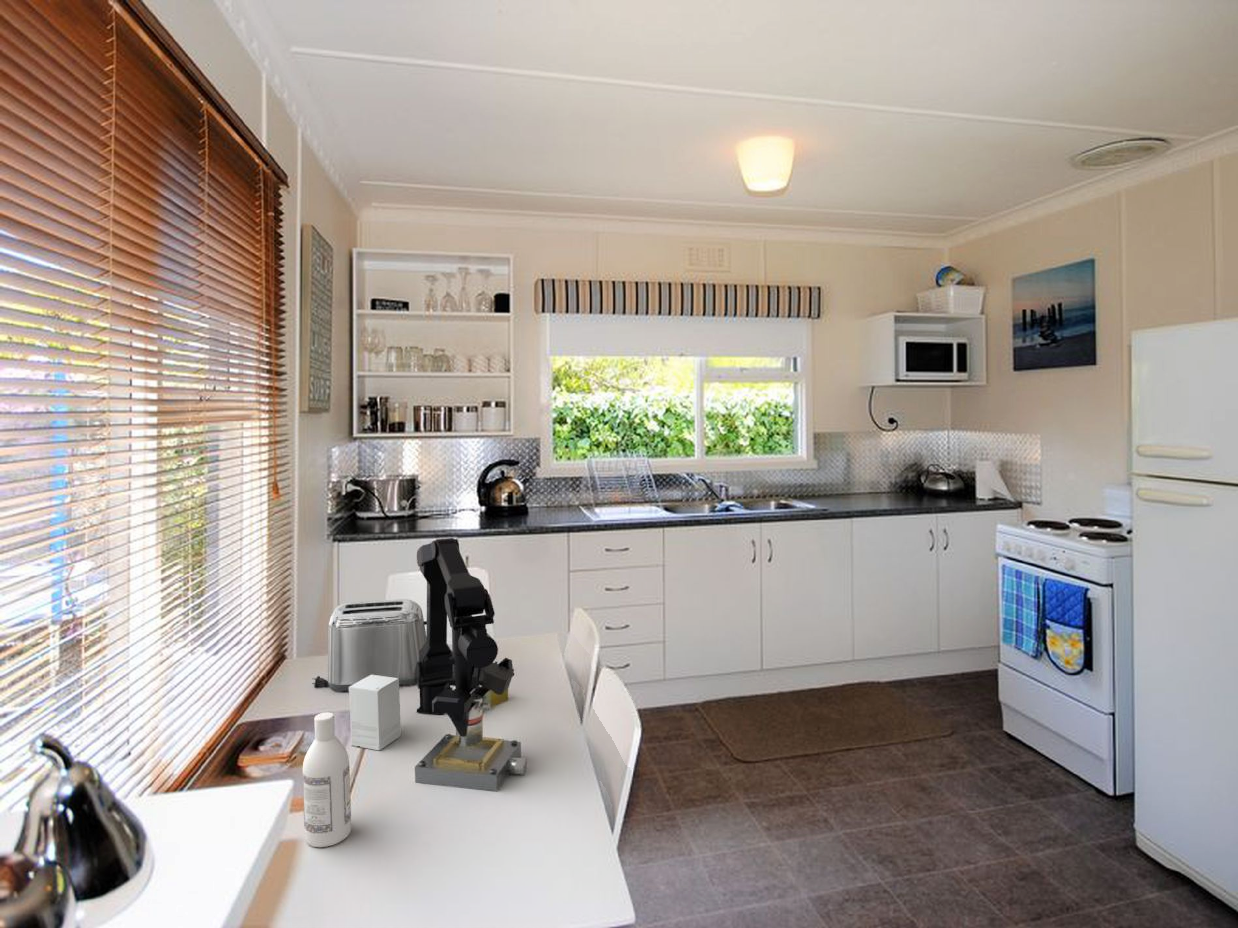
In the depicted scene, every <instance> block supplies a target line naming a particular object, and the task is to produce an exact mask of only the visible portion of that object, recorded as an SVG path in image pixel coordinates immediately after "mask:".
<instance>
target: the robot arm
mask: <svg viewBox="0 0 1238 928" xmlns="http://www.w3.org/2000/svg"><path fill="white" fill-rule="evenodd" d="M416 563H417V566H418V568H419V570H420V572H421V574H422V576H423V577H424V579H425V580H426V621H427V625H426V637H427V640H426V642H425V644H424V645H423V647H422V648H421V650H420V651H419V662H417V663H416V667H415V671H414V679H415V683H416V684H415V686H416V687H417V689H418V690H419V707H418V708H417V709H416V713H419V714H420V713H421V714H430V715H431V714H432V715H444V714H446V715H447V716H448V718H449V719H450V720H451V722H452V724H453V726H454V727H455V730H456V729H457V731H458V733H459V735H460V736H461V737H465V736H466V735H467V729H468V720H469V711H470V710H471V709H472V708H473V707H474V706H475V705H476V703H472V694H477V695H480V696H481V697H482V702H483V701H484V697H485V694H486V693H487V692H488V691H489V690H491V691H493V692H494V693H495V694H498V695H502V694H503V693H504V692H505V690H506V689H508V690H509V687H510V684H511V681H512V680H513V677H514V676H515V672H514V671H515V669H514V667H513V660H512V659H510V658H508V657H504V658H503V659H502V661H500V662H499V663H498V661H496V658H497V657H498V653H499V647H498V644H497V642H496V640H495V639H494V638H493V637H492V635H490V634H489V633H488V629H487V625H493V624H494V622H495V621H494V616H495V614H496V613H495V610H494V606H493V602H492V599H491V595H490V593H489V592H488V590H487V589H486V588H485V586H484V584H483V582H482V580H481V579H480V578H478V577H476V576H473V575H471V574H470V572H469V570H468V567H467V565H466V563H465V561H464V559H463V556H462V554H461V551H460V544H459V540H458V539H457V538H453V537H450V538H449V537H447V538H437V539H435V540H432V541H431V542H430V543H427V544H422V545H421V546H420V547H419V548H417V551H416ZM484 613H485V614H484ZM448 622H449V626H450V628H451V644H452V645H451V648H450V645H449V644H448V643H447V642H448ZM421 677H422V678H421ZM453 686H454V689H453V688H452V687H453Z"/></svg>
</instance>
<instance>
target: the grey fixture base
mask: <svg viewBox="0 0 1238 928" xmlns="http://www.w3.org/2000/svg"><path fill="white" fill-rule="evenodd" d="M521 742H522V741H518V740H508V739H507V740H506V739H504V738H496V737H495V738H494V737H487V736H486V737H485V736H483V740H482V741H481V742H480V743H479V744H476V745H473V746H461V745H459V744H457V742H456V734H455V735H453V734H452V733H451V734H450V733H447V734H445V735H444V736H443V737H442V738H441V739H440V740H439V741H438V742H437V743H436V744H435V745H434V746H433V748H432V749H430V751H429V752H428V753H427V754H425V755H424V757H423V758H422V759H421V760H420V761H419V762H418V763H417V764H416V765H415V766H414V783H417V784H425V785H426V784H427V785H435V786H443V787H444V786H445V787H453V788H462V789H463V788H464V789H471V790H477V791H479V790H480V791H488V792H489V791H490V792H498V790H499V789H500V788H501V786H503V783H505V780H507V778H508V776H509V774H513V775H514V774H515V775H523V776H524V775H525V774H526V770H527V766H528V761H527V758H525V757H524V758H523V757H522V743H521Z"/></svg>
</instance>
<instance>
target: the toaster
mask: <svg viewBox="0 0 1238 928" xmlns="http://www.w3.org/2000/svg"><path fill="white" fill-rule="evenodd" d="M426 626H427V620H424V614H423V610H422V607H421V606H420V605H419V603H417V602H415V601H413V600H412V599H405V598H403V599H400V598H399V599H398V598H397V599H381V600H369V601H368V600H367V601H358V602H355V601H354V602H345V603H341V604H339V605H337V606H335V608H334V610H333V612H332V613H331V615H330V619H329V622H328V632H327V633H328V636H327V637H328V638H327V639H328V641H327V642H328V643H327V644H328V645H327V647H328V648H327V680H326V679H325V678H323V677H320V675H318V676H316V677H314V678H313V677H312V678H311V679H312V680H315V681H314V682H312V683H311V684H312V685H313V688H315V689H316V688H317V687H319V688H323V687H329V689H331V690H333V691H337V692H338V693H341V692H349V687H350V686H352V685H353V684H355V683H357V682H359V681H360V680H362V679H364V678H366V677H368V676H370V675H378V676H385V677H393V678H399V685H402V686H409V685H416V683H415V679H414V671H415V667H416V663H417V662H419V651H420V650H421V648H422V647H423V645H424V644H425V642H426V640H427V630H426ZM421 678H422V677H421Z"/></svg>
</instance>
